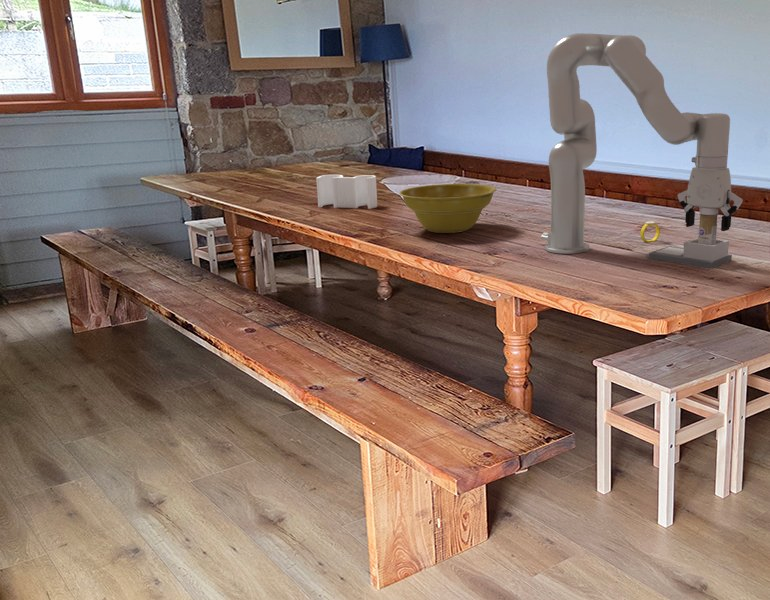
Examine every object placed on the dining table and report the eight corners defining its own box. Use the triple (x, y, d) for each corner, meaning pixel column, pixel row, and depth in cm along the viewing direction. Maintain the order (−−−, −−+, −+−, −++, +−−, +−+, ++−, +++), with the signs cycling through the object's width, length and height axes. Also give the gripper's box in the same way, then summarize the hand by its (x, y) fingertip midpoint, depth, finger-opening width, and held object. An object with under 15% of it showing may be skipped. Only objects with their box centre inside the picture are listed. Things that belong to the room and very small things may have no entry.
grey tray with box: (648, 258, 223) (649, 238, 222) (669, 251, 230) (670, 232, 229) (711, 268, 210) (712, 247, 209) (731, 260, 217) (732, 240, 216)
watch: (644, 244, 241) (644, 224, 239) (638, 242, 244) (638, 223, 242) (661, 240, 243) (661, 221, 241) (655, 238, 245) (655, 219, 244)
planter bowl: (428, 218, 296) (427, 181, 292) (511, 223, 279) (511, 184, 276) (383, 236, 269) (381, 195, 266) (471, 242, 253) (470, 199, 249)
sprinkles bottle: (693, 256, 217) (696, 206, 213) (703, 253, 219) (706, 204, 216) (709, 259, 213) (712, 208, 210) (718, 256, 216) (722, 205, 212)
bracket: (381, 205, 329) (380, 175, 325) (371, 209, 320) (369, 178, 317) (327, 203, 339) (325, 174, 336) (315, 207, 331) (313, 177, 327)
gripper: (672, 162, 214) (669, 226, 218) (737, 166, 201) (732, 234, 206) (687, 159, 218) (684, 222, 223) (751, 163, 206) (746, 229, 211)
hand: (707, 228), depth 214 cm, fingers open, 9 cm apart
